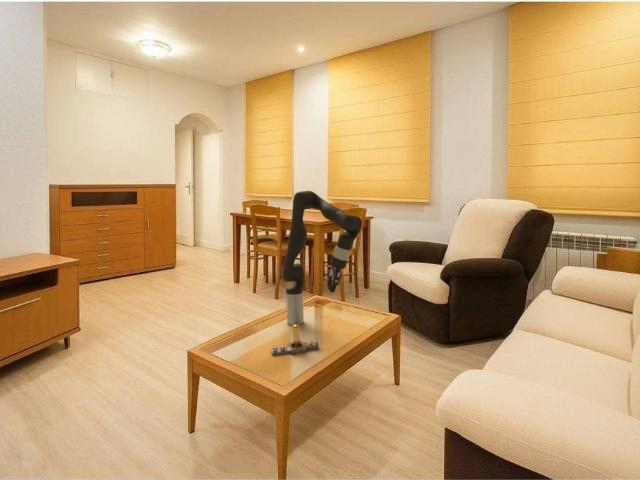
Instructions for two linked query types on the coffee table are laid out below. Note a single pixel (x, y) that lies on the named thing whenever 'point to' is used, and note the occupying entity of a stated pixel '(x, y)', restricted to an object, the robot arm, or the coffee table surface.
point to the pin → (296, 335)
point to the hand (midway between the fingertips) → (330, 288)
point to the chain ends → (289, 349)
